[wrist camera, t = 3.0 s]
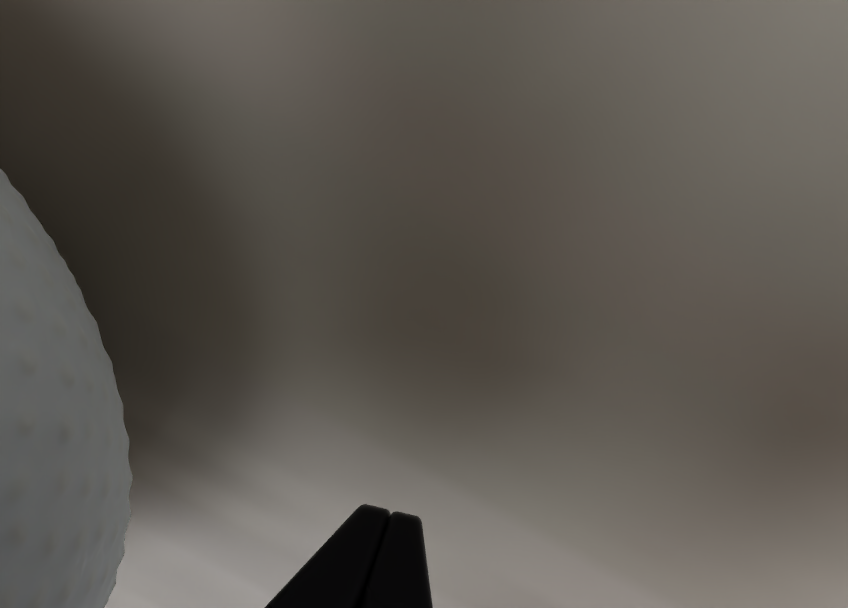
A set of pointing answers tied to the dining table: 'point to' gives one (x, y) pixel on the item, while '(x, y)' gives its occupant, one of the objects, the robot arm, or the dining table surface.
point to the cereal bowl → (55, 429)
